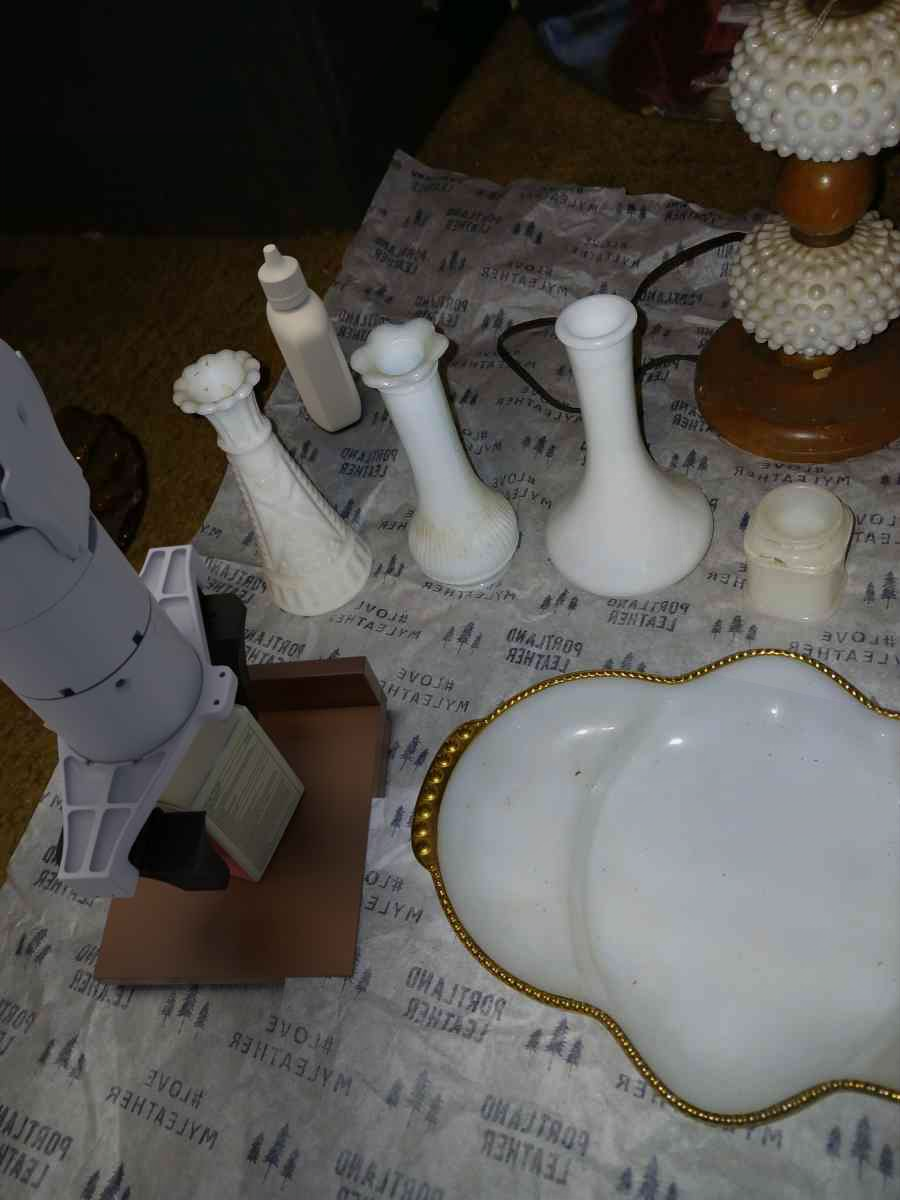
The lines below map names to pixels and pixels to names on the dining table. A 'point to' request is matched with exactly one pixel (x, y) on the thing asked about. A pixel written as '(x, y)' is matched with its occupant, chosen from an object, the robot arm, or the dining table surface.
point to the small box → (236, 791)
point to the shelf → (300, 862)
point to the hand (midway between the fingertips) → (223, 799)
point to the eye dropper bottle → (308, 343)
